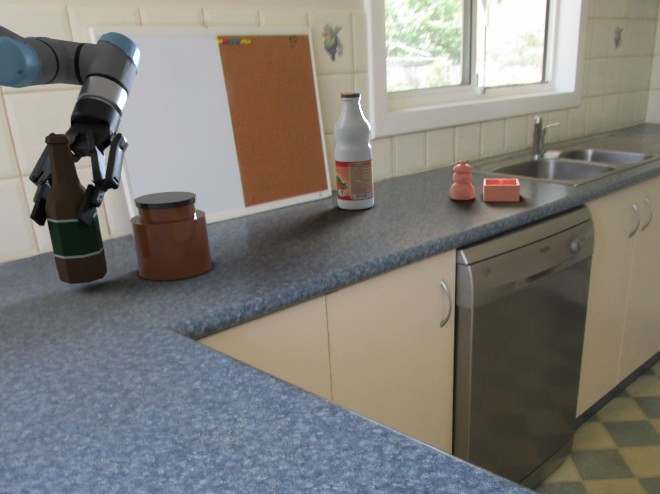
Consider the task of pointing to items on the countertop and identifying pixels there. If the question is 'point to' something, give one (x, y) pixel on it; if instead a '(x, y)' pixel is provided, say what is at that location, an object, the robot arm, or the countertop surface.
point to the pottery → (492, 187)
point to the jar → (170, 236)
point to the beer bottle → (71, 219)
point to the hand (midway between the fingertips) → (60, 222)
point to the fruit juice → (353, 156)
